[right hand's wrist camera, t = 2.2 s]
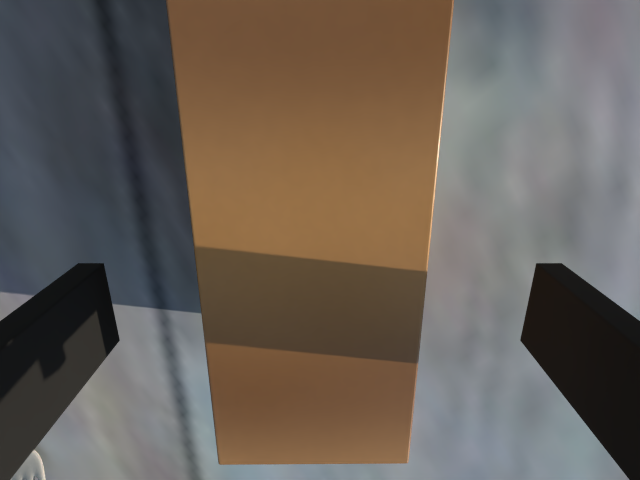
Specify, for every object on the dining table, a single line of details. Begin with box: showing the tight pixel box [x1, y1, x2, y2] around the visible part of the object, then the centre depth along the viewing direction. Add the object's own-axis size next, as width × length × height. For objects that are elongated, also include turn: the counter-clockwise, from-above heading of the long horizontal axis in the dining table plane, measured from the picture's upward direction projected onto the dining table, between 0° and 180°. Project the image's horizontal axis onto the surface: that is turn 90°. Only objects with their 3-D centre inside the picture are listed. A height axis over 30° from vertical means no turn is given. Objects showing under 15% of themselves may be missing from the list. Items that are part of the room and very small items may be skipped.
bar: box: [166, 0, 454, 465], centre depth 12 cm, size 25×6×8 cm, turn 0°
